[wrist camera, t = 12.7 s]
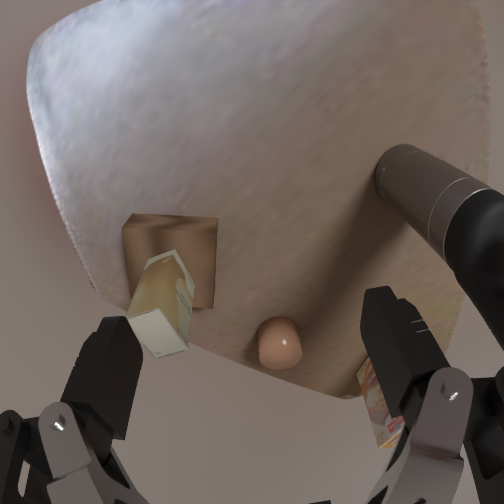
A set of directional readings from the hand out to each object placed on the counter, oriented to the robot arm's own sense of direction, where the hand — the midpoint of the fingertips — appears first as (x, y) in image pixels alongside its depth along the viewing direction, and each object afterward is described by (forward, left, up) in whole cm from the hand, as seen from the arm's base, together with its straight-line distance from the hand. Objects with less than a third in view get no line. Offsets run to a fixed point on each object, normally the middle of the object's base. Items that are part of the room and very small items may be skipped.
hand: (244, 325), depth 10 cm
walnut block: (+11, +14, -31) cm, 36 cm away
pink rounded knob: (-2, +32, -30) cm, 44 cm away
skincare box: (+11, +14, -26) cm, 31 cm away
